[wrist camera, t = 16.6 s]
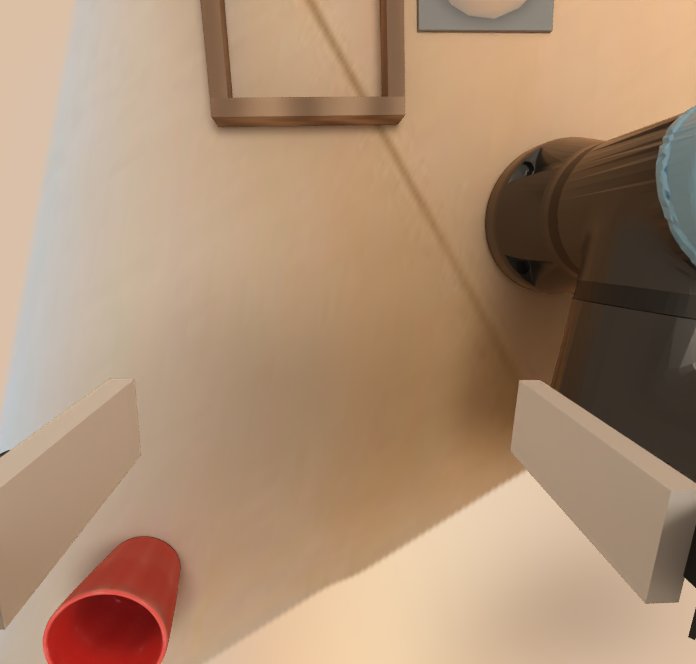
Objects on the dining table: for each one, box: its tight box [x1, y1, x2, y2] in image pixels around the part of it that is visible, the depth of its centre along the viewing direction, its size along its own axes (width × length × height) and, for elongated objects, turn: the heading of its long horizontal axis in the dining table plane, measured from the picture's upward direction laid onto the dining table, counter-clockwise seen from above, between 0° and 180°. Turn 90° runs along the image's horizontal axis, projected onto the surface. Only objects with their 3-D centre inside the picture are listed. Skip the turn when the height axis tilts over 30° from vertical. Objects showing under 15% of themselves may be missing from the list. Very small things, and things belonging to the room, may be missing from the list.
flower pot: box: [43, 537, 180, 664], centre depth 43 cm, size 11×11×10 cm
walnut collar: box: [201, 0, 405, 127], centre depth 37 cm, size 17×17×3 cm
